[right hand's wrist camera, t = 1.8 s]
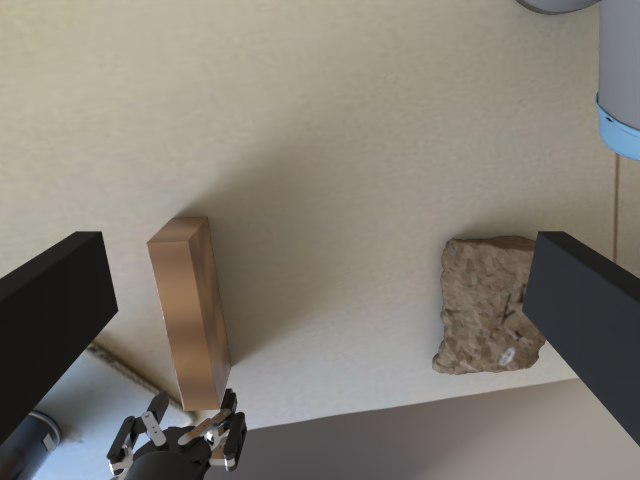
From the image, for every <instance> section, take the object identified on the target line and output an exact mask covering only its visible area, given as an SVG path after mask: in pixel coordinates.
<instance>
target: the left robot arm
mask: <svg viewBox="0 0 640 480" xmlns="http://www.w3.org/2000/svg"><path fill="white" fill-rule="evenodd" d="M168 404H169V398H168V394H167V391H160V393H159V395H156V396H155V397H154V398H153V400H152V402H151V404H150V405H149V407H148V409H147V411H146V412H145V413H143V414H142V416H141V417H138V418H135V417H134V416H129V417H127V418H126V419H125V420H124V422H123V424H122V426H121V428H120V430H119V432H118V434H117V436H116V438H115V440H114V442H113V444H112V446H111V448H110V450H109V452H108V454H107V460H108V463H109V466H110V469H111V472H112V474H113V475H115V476H116V475H119V474H121V473H122V472H123V470H124V468H130V469H129V471H128V473H127V475H126V477H125V479H124V480H203V478H204V475H205V473H206V471H207V470H208V469H209V468H210V467H211V465H225V466H226V470H227V471H234V470H235V469H236V467H237V464H238V461H239V457H240V454H241V450H242V447H243V443H244V439H245V436H246V432H247V427H246V423H245V414H244V413H243V412H238V413H236V414H235V411H236V407H237V398H236V393H235V392H234V393H233V391H232V389H226V391H225V394H224V397H223V401H222V404H221V407H220V411H221V412H219V413H218V414H217V415H216V416H214V417H213V418H212V419H210V418H207V419H206V420H205V421H203V422H202V423H201V424H200V425H198V426H197V427H195V426H187V427H183V428H180V427H168V429H166V430H164V431H162V430H161V428H160V426H159V424H160V422H161V420H162V418H163V415H164V413H165V411H166V409H167V407H168ZM221 424H222V425H221ZM220 425H221V426H220ZM219 426H220V427H219ZM144 432H146V435H147V437H148V439H149V442H147V443H146V444H145V445H143V446H142V447H141V448H139V449H138V450H137V451H136V452H135V454H133V452H132V450H133V447H134V445H135V443H136V440H137V438H138V436H139V434H141V433H144ZM228 432H229V434H228V437H227V440H226V441H223V442H222V445H221V446H220V447H219V449H218V450H217V451H214V452H212V450H213V449H214V448H215V447H217V446H218V445H219V443H220V440H221V439H222V438H223V437H224V436H225V435H226V434H227V433H228ZM206 433H207V436H208V438H207V440H206V439H205V437H204V435H205V434H206ZM60 439H61V434H60V430H59V428H58V426H57V425H56V424H55V423H54V421H52V420H51V419H50V418H49V417H47V416H45V415H44V414H41V413H39V412H36V411H31V412H30V413H29V414H28V415H27V417H26V418H25V419H24V420H23V421H22V422H21V423H20V425H19V426H18V427H17V428H16V429H15V430H14V432H13V433H12V434H11V435H10V436H9V437H8V438H7V440H6V441H5V442H4V443H3V444H2V445H1V446H0V480H33V478H34V477H35V476H36V474H37V473H38V471H39V470H40V468H41V467H42V466H43V464H44V463H45V462H46V460H47V459H48V457H49V456H50V454H51V453H52V452H53V451H54V450H55V448H56V447H57V446H58V444H59V442H60Z"/></svg>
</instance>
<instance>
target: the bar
mask: <svg viewBox="0 0 640 480" xmlns="http://www.w3.org/2000/svg"><path fill="white" fill-rule="evenodd" d="M147 247H148V251H149V255H150V260H151V264H152V269H153V273H154V278H155V282H156V287H157V291H158V296H159V300H160V305H161V309H162V314H163V318H164V323H165V327H166V332H167V336H168V341H169V345H170V349H171V354H172V358H173V363H174V367H175V372H176V376H177V381H178V385H179V390H180V394H181V399H182V403H183V408H184V411H195V410H216V409H219V408H220V405H221V401H222V398H223V394H224V391H225V387H226V384H227V381H228V377H229V374H230V370H231V363H230V356H229V350H228V344H227V338H226V331H225V325H224V319H223V313H222V306H221V300H220V294H219V288H218V281H217V275H216V269H215V263H214V257H213V250H212V244H211V238H210V232H209V225H208V219H207V217H193V218H174V219H171V220H170V221H169V222H168V223H167V224H166V225H164V226H163V227H162V228H161V229H160V230H159V231H158V232H157V233H156V234H155V235H154V236H153V237H152V238H151V239H150V240H149V241H148V242H147Z"/></svg>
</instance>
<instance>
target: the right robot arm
mask: <svg viewBox="0 0 640 480" xmlns="http://www.w3.org/2000/svg"><path fill="white" fill-rule="evenodd" d="M516 1H517V2H518V3H520V4H521V5H522V6H524V7H526V8H527V9H529V10H532V11H534V12H537V13H541V14H548V15H557V14H565V13H569V12H573V11H577V10H580V9H583V8H586V7H588V6H591V5H593V4H595V3H597V2H598V1H600V33H599V91H598V92H597V94H596V99H595V102H596V105H597V109H598V111H599V133H600V136H601V138H602V140H603V142H604V143H605V144H606V146H607V147H608V148H610V149H611V150H612V151H614V152H616V153H617V154H620V155H622V156H624V157H627V158H630V159H634V160H637V161H640V0H602V1H601V0H516ZM117 312H118V307H117V302H116V297H115V292H114V288H113V283H112V278H111V274H110V269H109V264H108V259H107V255H106V250H105V245H104V241H103V236H102V231H76V232H75V233H73V234H71V235H70V236H68V237H67V238H65V239H63V240H62V241H60V242H59V243H57V244H55V245H54V246H52V247H51V248H49V249H47V250H46V251H44V252H43V253H41V254H39V255H38V256H36V257H35V258H33V259H31V260H30V261H28V262H27V263H25V264H23V265H22V266H20V267H19V268H17V269H15V270H14V271H12V272H11V273H9V274H7V275H6V276H4V277H3V278H1V279H0V446H1V445H2V444H3V443H4V442H5V441H6V440H7V438H8V437H9V436H10V435H11V434H12V433H13V432H14V430H15V429H16V428H17V427H18V426H19V425H20V423H21V422H22V421H23V420H24V419H25V418H26V417H27V415H28V414H29V413H30V412H31V411H32V410H33V409H34V407H35V406H36V405H37V404H38V403H39V402H40V400H41V399H42V398H43V397H44V396H45V395H46V394H47V392H48V391H49V390H50V389H51V388H52V387H53V386H54V384H55V383H56V382H57V381H58V380H59V379H60V377H61V376H62V375H63V374H64V373H65V372H66V371H67V369H68V368H69V367H70V366H71V365H72V364H73V363H74V361H75V360H76V359H77V358H78V357H79V356H80V354H81V353H82V352H83V351H84V350H85V349H86V348H87V346H88V345H89V344H90V343H91V342H92V341H93V340H94V338H95V337H96V336H97V335H98V334H99V333H100V331H101V330H102V329H103V328H104V327H105V326H106V325H107V323H108V322H109V321H110V320H111V319H112V318H113V317H114V315H115V314H116V313H117ZM522 312H523V313H524V314H525V315H526V317H527V318H528V319H529V320H530V321H531V322H532V323H533V325H534V326H535V327H536V328H537V329H538V330H539V331H540V333H541V334H542V335H543V336H544V337H545V338H546V340H547V341H548V342H549V343H550V344H551V345H552V346H553V348H554V349H555V350H556V351H557V352H558V353H559V354H560V356H561V357H562V358H563V359H564V360H565V361H566V363H567V364H568V365H569V366H570V367H571V368H572V369H573V371H574V372H575V373H576V374H577V375H578V376H579V377H580V379H581V380H582V381H583V382H584V383H585V384H586V386H587V387H588V388H589V389H590V390H591V391H592V392H593V394H594V395H595V396H596V397H597V398H598V399H599V400H600V402H601V403H602V404H603V405H604V406H605V407H606V409H607V410H608V411H609V412H610V413H611V414H612V415H613V417H614V418H615V419H616V420H617V421H618V422H619V423H620V425H621V426H622V427H623V428H624V429H625V430H626V431H627V433H628V434H629V435H630V436H631V437H632V438H633V440H634V441H635V442H636V443H637V444H638V445H639V446H640V279H639V278H637V277H636V276H634V275H633V274H631V273H629V272H628V271H626V270H625V269H623V268H621V267H620V266H618V265H617V264H615V263H613V262H612V261H610V260H609V259H607V258H605V257H604V256H602V255H601V254H599V253H597V252H596V251H594V250H593V249H591V248H589V247H588V246H586V245H585V244H583V243H581V242H580V241H578V240H577V239H575V238H573V237H572V236H570V235H569V234H567V233H565V232H564V231H538V236H537V241H536V245H535V250H534V255H533V259H532V264H531V269H530V274H529V278H528V283H527V288H526V292H525V297H524V302H523V307H522Z"/></svg>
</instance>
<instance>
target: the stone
mask: <svg viewBox="0 0 640 480" xmlns="http://www.w3.org/2000/svg"><path fill="white" fill-rule="evenodd" d="M535 245H536V241H533V240H529V239H526V238H524V237H519V236H504V237H498V238H494V239H490V240H486V239H467V240H461V239H450V240H449V241H448V242H447V243H446V248H445V249H444V250H443V254H442V265H443V268H444V271H443V273H442V276H441V279H440V280H441V287H442V296H443V302H444V306H443V308H442V312H441V315H440V317H441V319H442V321H443V322H444V324H445V326H444V332H445V333H444V340H443V341H442V342H441V344H440V347H439V353H437V354H436V355H435V356H434V357H433V361H432V363H433V366H432V368H433V370H436V371H437V372H439V373H447V374H450V375H451V374H456V375H459V374H466V373H476V372H483V371H486V372H495V373H498V372H503V371H514V370H518V369H524V368H526V369H527V368H530V367H531V366H532V365H533V364H534V363H535V362H536V361H537V360H538V358H539V355H538V352H539V350H540V348H541V346H543V345H544V344H545V341H546V338H545V337H544V336H543V335H542V334H541V333H540V331H539V330H538V329H537V328H536V327H535V326H534V325H533V323H532V322H531V321H530V320H529V319H528V318H527V317H526V315H525V314H524V313H523V312H522V307H523V302H524V297H525V292H526V288H527V283H528V278H529V274H530V269H531V264H532V259H533V255H534V250H535Z"/></svg>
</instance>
